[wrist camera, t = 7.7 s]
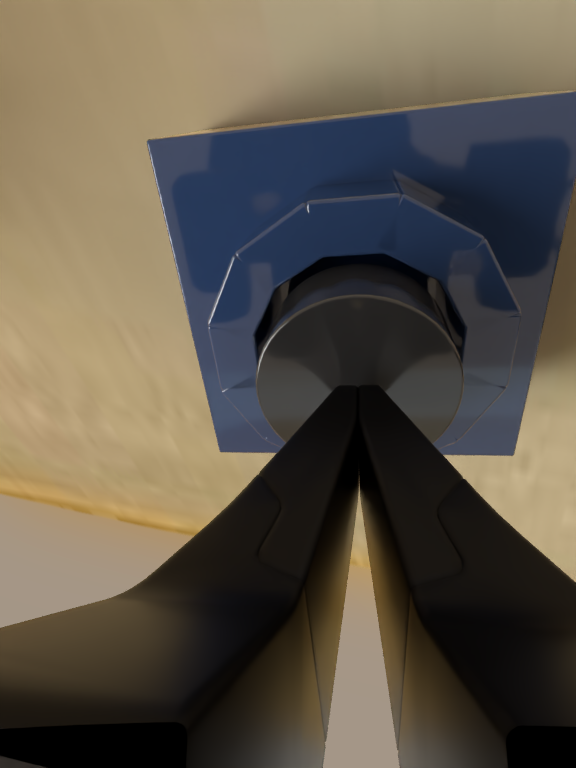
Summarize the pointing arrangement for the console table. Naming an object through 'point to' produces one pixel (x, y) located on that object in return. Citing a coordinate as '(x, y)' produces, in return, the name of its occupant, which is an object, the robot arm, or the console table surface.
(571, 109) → the blue stepped block
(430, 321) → the cylinder
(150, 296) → the console table surface
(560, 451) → the console table surface
